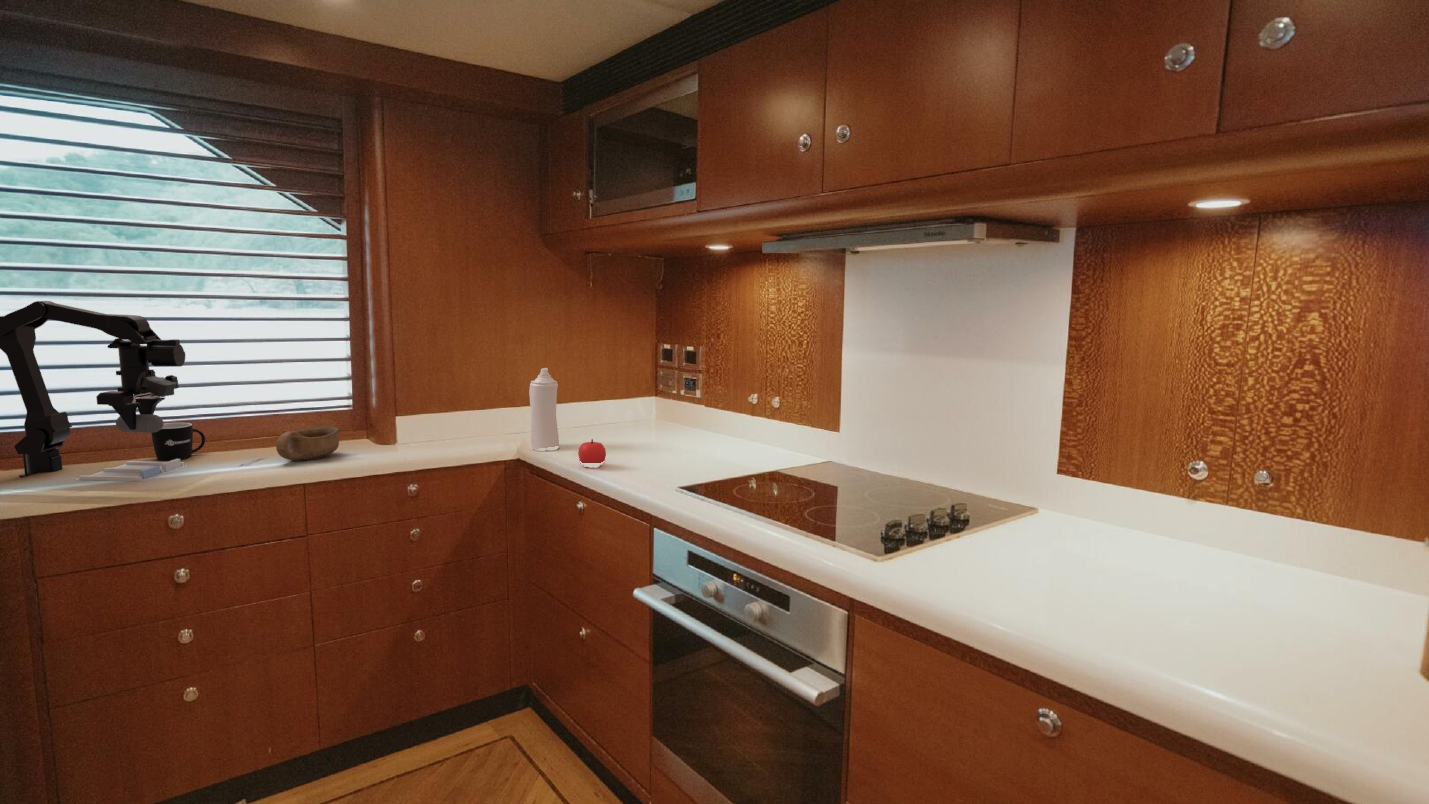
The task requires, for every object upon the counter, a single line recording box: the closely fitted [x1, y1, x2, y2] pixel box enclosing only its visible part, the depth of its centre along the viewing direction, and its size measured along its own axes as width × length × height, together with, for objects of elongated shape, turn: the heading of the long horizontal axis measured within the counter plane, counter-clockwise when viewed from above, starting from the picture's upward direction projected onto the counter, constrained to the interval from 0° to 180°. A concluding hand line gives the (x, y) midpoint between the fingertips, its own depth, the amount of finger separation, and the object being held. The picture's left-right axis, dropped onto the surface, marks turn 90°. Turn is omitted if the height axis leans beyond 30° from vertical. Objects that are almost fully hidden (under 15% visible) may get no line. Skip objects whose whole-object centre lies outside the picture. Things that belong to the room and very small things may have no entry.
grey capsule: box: [115, 413, 164, 434], centre depth 185 cm, size 11×5×5 cm, turn 92°
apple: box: [577, 438, 607, 463], centre depth 208 cm, size 8×8×8 cm
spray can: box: [528, 367, 560, 450], centre depth 229 cm, size 12×11×25 cm
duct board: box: [74, 459, 189, 482], centre depth 183 cm, size 16×16×3 cm
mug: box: [150, 422, 206, 462], centre depth 199 cm, size 12×9×10 cm
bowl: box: [275, 426, 340, 461], centre depth 206 cm, size 18×14×10 cm
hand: (140, 427), depth 185 cm, fingers closed on grey capsule, 5 cm apart
